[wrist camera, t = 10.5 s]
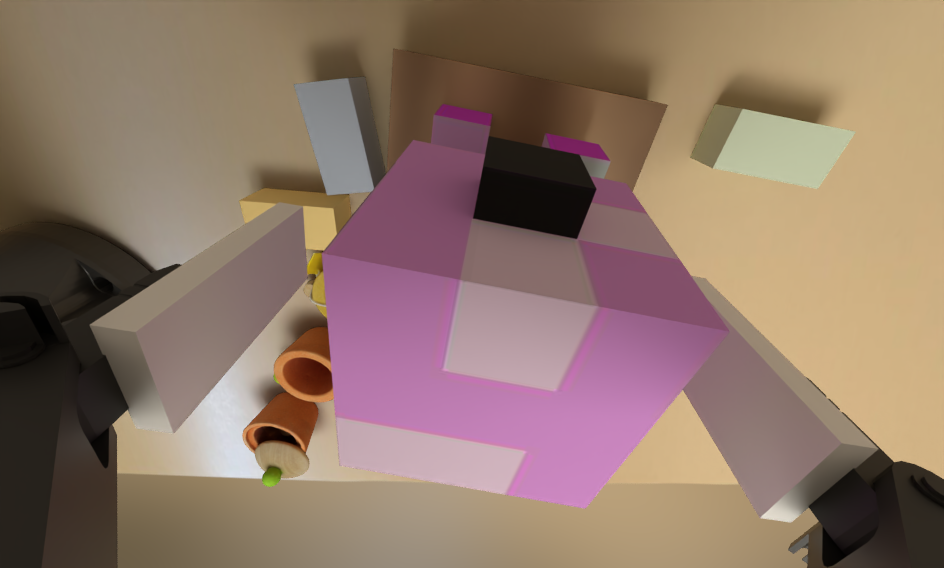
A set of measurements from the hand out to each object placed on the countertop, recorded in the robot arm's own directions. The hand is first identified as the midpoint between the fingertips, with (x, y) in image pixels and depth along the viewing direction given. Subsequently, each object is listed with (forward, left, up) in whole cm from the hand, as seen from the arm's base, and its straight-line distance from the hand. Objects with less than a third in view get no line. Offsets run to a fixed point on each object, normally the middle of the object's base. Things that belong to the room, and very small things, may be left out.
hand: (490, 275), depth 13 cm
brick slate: (-9, +1, -13) cm, 16 cm away
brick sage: (+14, +5, -13) cm, 20 cm away
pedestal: (+1, 0, -13) cm, 13 cm away
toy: (0, 0, -10) cm, 10 cm away
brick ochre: (-13, -5, -13) cm, 19 cm away
